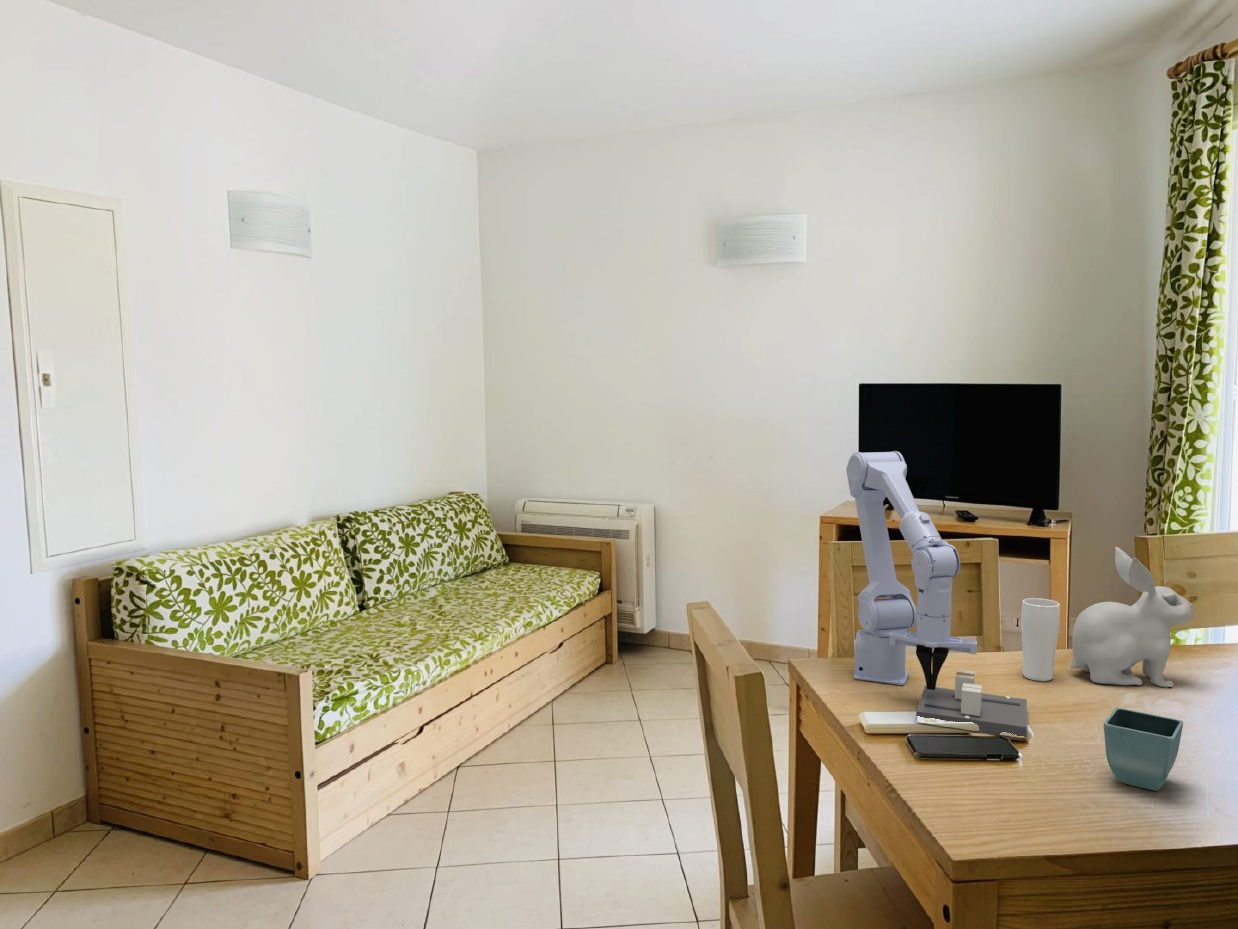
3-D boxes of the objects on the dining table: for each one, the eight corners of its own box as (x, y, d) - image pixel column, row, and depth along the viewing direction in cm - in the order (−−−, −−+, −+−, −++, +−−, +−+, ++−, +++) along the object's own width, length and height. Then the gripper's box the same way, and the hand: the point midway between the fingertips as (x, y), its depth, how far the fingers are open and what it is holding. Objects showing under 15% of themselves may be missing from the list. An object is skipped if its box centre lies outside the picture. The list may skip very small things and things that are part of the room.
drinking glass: (1049, 672, 179) (1052, 598, 177) (1062, 684, 172) (1066, 607, 171) (1013, 671, 179) (1016, 597, 178) (1025, 683, 173) (1028, 606, 171)
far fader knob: (954, 698, 158) (955, 675, 157) (956, 691, 161) (957, 669, 161) (973, 701, 157) (974, 678, 156) (974, 694, 160) (975, 671, 160)
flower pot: (1112, 763, 137) (1115, 706, 136) (1180, 780, 131) (1184, 720, 130) (1099, 783, 130) (1102, 723, 129) (1170, 801, 124) (1174, 738, 123)
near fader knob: (960, 713, 151) (961, 689, 150) (962, 705, 154) (963, 682, 154) (980, 716, 150) (981, 691, 149) (981, 708, 153) (982, 684, 153)
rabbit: (1199, 694, 167) (1208, 560, 164) (1077, 685, 171) (1084, 555, 169) (1176, 674, 178) (1184, 549, 175) (1063, 666, 183) (1068, 544, 180)
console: (915, 723, 153) (916, 710, 152) (924, 696, 165) (924, 685, 165) (1026, 739, 146) (1026, 726, 145) (1026, 710, 158) (1026, 698, 158)
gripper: (888, 614, 159) (886, 689, 161) (976, 623, 153) (973, 701, 155) (893, 605, 166) (891, 677, 167) (978, 613, 160) (975, 688, 161)
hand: (931, 688), depth 161 cm, fingers closed
